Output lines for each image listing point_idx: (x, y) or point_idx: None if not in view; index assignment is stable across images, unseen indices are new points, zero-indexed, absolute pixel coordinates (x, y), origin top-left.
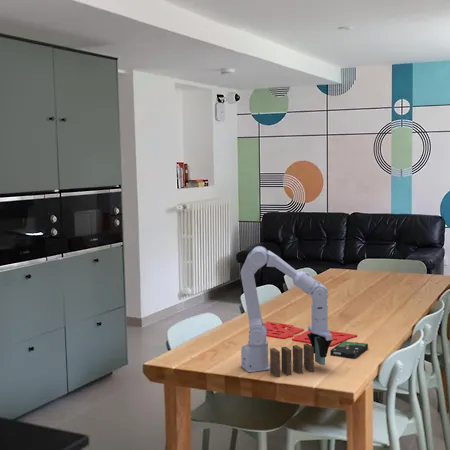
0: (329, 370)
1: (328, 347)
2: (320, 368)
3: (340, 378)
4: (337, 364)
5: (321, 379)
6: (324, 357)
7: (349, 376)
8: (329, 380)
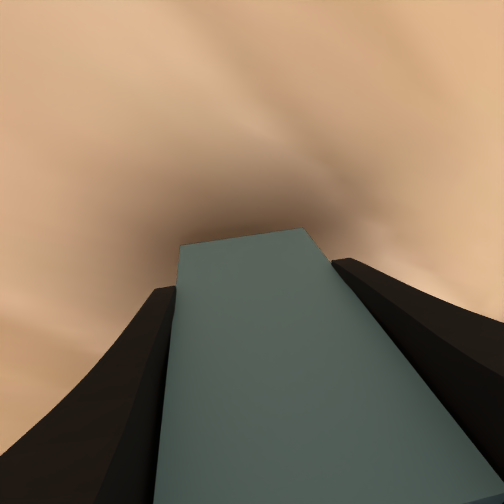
0: (302, 177)
1: (470, 317)
2: (234, 227)
3: (484, 167)
4: (157, 13)
5: (426, 284)
6: (327, 265)
7: (497, 75)
8: (466, 248)
